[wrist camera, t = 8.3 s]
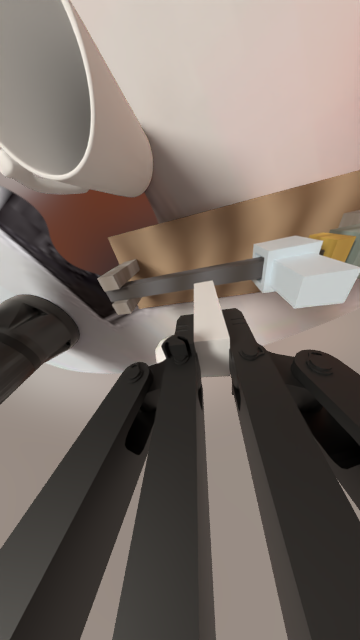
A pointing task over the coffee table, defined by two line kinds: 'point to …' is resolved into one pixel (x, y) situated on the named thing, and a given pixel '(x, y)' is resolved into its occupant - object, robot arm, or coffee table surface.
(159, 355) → the geometric ball
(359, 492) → the robot arm
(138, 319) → the coffee table surface
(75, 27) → the mug
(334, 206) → the din rail terminal board
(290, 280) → the white stepped block
